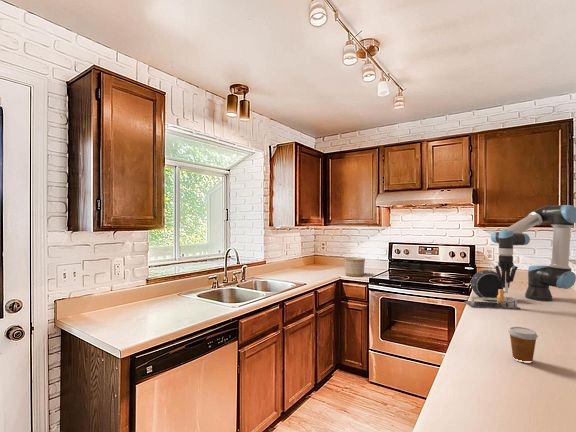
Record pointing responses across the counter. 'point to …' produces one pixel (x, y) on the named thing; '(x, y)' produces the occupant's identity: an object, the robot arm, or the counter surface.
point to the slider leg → (500, 295)
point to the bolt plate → (492, 305)
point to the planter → (354, 266)
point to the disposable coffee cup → (523, 343)
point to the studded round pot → (486, 284)
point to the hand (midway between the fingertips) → (505, 292)
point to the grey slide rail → (508, 299)
